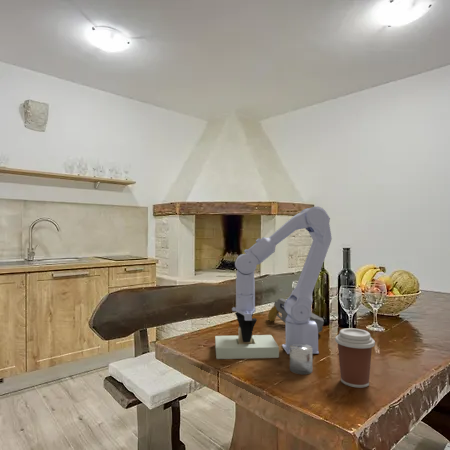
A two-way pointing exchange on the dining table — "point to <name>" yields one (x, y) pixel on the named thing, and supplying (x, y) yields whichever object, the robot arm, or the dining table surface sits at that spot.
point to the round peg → (301, 358)
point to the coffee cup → (355, 356)
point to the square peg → (240, 340)
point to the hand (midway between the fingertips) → (245, 338)
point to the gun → (280, 308)
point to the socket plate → (246, 347)
